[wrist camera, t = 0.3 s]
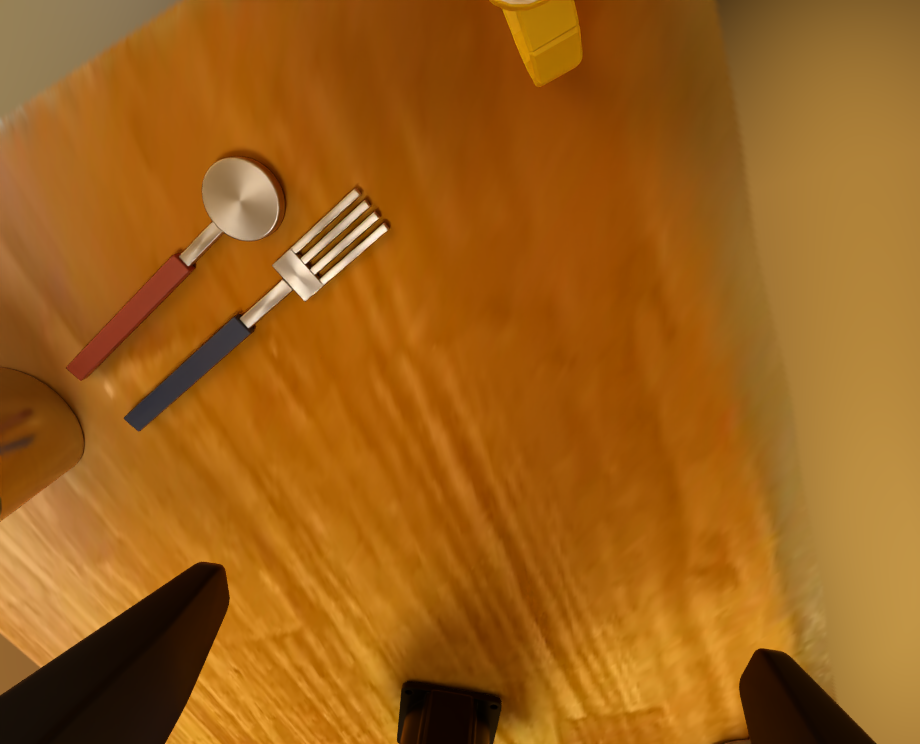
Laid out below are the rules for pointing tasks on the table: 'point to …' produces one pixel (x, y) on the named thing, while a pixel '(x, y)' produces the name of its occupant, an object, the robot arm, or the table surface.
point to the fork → (266, 303)
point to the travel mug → (739, 742)
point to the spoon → (197, 246)
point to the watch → (544, 36)
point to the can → (33, 438)
